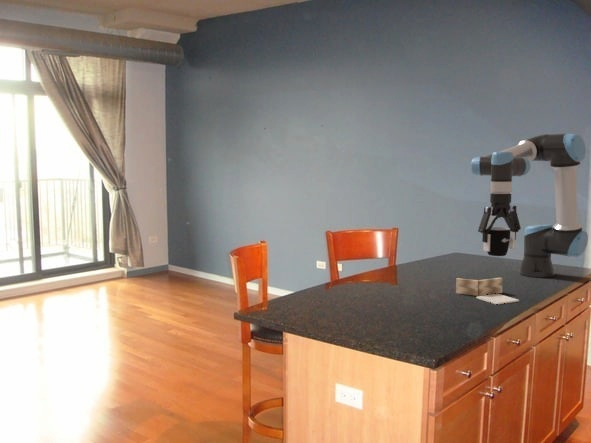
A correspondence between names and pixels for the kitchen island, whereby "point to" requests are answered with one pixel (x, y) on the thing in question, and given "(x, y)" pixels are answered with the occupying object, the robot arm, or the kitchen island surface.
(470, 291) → the wooden boomerang
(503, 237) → the mug
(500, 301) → the plate
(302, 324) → the kitchen island surface
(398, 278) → the kitchen island surface
